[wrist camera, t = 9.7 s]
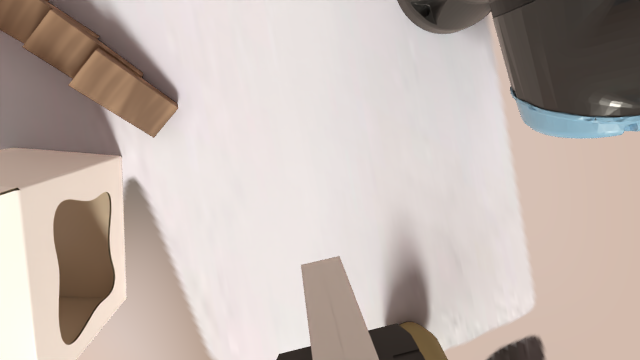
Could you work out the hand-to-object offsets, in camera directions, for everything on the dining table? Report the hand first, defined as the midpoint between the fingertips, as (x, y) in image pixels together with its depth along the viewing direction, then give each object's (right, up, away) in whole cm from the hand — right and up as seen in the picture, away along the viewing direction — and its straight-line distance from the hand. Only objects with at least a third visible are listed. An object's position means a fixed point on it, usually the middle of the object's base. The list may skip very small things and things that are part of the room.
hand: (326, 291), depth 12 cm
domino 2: (-24, +16, +28) cm, 40 cm away
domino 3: (-20, +12, +29) cm, 38 cm away
